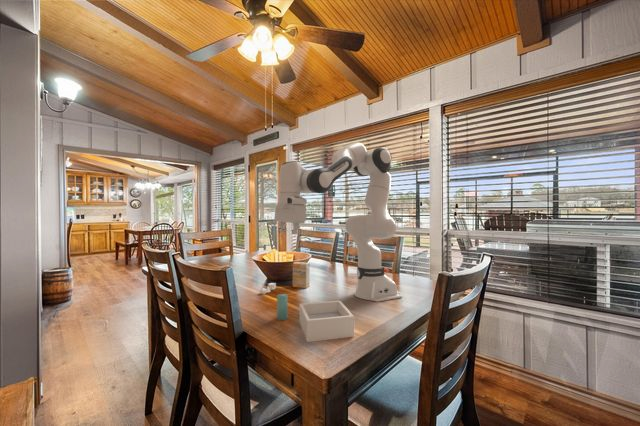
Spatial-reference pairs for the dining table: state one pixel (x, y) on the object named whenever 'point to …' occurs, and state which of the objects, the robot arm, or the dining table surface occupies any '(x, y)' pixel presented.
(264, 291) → the game pieces
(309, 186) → the robot arm
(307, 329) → the peg box
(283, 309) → the peg
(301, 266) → the supplement box
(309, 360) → the dining table surface
